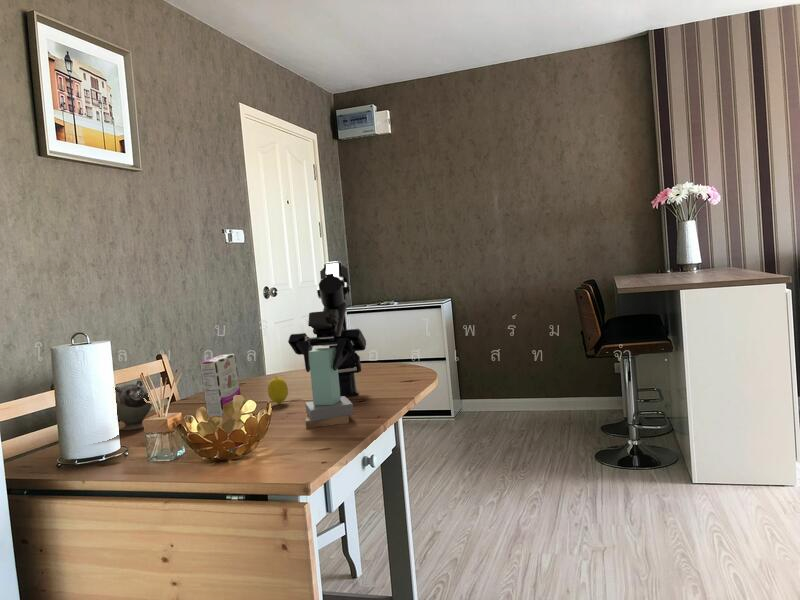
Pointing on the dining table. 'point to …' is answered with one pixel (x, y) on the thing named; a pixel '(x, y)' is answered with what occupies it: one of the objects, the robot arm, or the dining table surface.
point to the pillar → (324, 376)
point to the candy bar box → (219, 382)
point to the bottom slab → (326, 421)
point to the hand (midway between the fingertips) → (320, 370)
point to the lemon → (277, 390)
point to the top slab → (329, 409)
